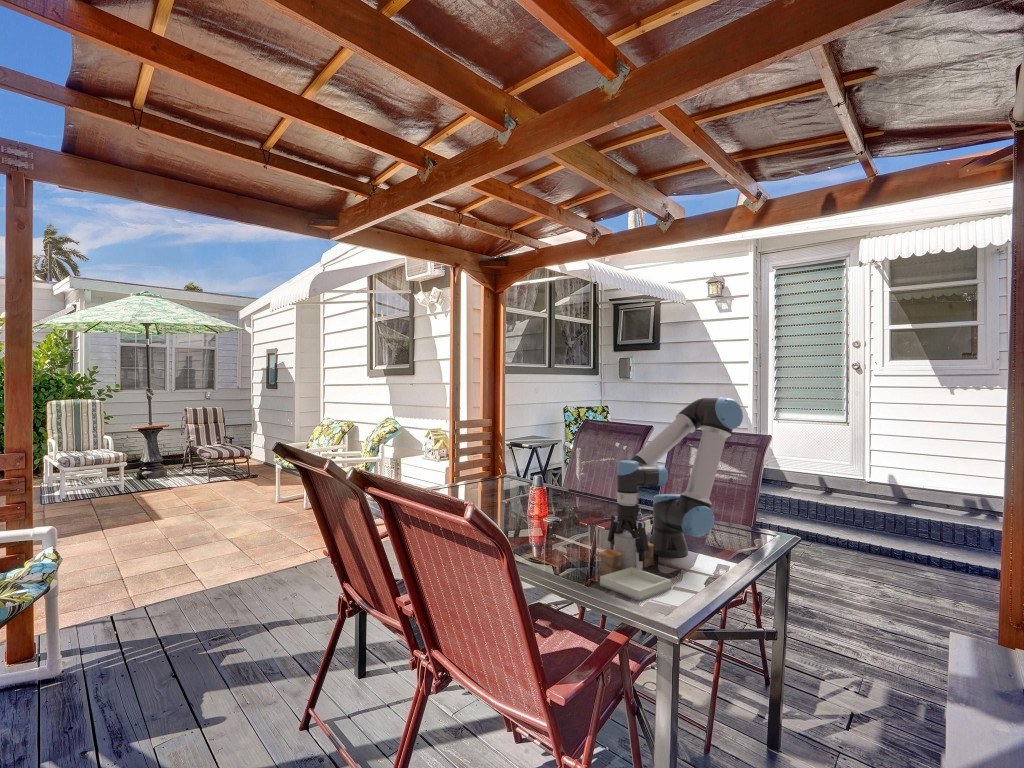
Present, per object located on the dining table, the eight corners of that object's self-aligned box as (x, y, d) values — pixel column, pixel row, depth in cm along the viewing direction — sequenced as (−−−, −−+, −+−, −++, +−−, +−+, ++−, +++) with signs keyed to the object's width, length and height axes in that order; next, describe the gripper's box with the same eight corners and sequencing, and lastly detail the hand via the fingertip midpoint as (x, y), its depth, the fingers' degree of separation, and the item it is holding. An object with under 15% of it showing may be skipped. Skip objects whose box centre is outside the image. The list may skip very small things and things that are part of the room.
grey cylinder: (637, 564, 185) (637, 531, 185) (644, 573, 175) (644, 538, 176) (611, 565, 185) (611, 531, 185) (617, 574, 175) (617, 538, 175)
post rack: (642, 561, 189) (642, 541, 189) (653, 565, 185) (653, 544, 185) (600, 573, 175) (600, 552, 175) (611, 578, 171) (611, 555, 171)
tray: (631, 575, 174) (631, 566, 174) (671, 589, 161) (671, 580, 161) (600, 585, 164) (600, 576, 164) (639, 601, 151) (639, 591, 151)
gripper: (597, 500, 187) (597, 560, 186) (646, 510, 170) (646, 577, 169) (611, 497, 192) (611, 556, 191) (659, 507, 174) (660, 572, 173)
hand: (627, 566), depth 180 cm, fingers closed on grey cylinder, 9 cm apart
